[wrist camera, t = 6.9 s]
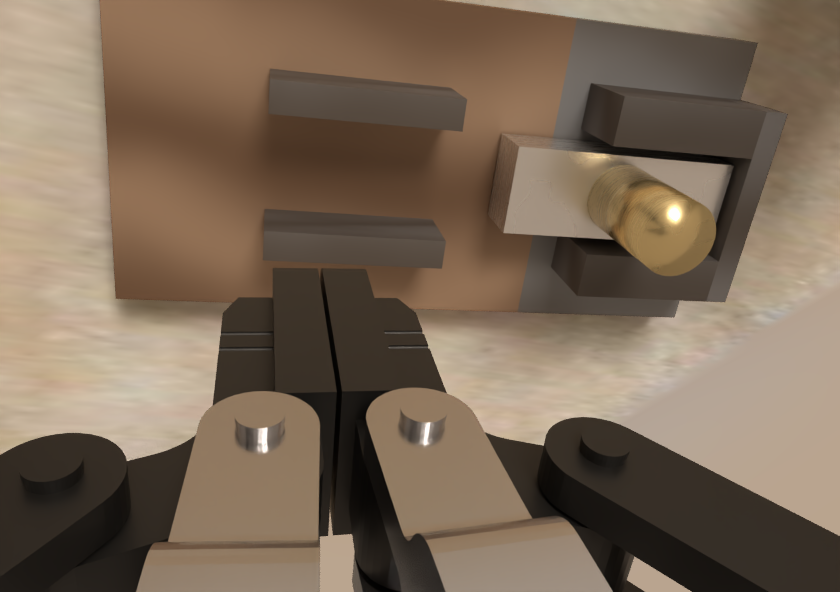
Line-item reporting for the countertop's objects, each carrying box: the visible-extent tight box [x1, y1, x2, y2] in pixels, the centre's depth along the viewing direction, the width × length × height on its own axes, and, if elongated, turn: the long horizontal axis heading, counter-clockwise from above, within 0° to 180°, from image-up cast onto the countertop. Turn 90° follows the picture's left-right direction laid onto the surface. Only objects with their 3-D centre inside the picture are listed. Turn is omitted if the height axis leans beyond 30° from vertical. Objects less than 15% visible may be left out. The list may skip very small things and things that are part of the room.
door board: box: [100, 0, 788, 317], centre depth 25 cm, size 11×22×4 cm, turn 82°
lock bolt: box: [488, 133, 734, 276], centre depth 24 cm, size 3×8×6 cm, turn 82°
